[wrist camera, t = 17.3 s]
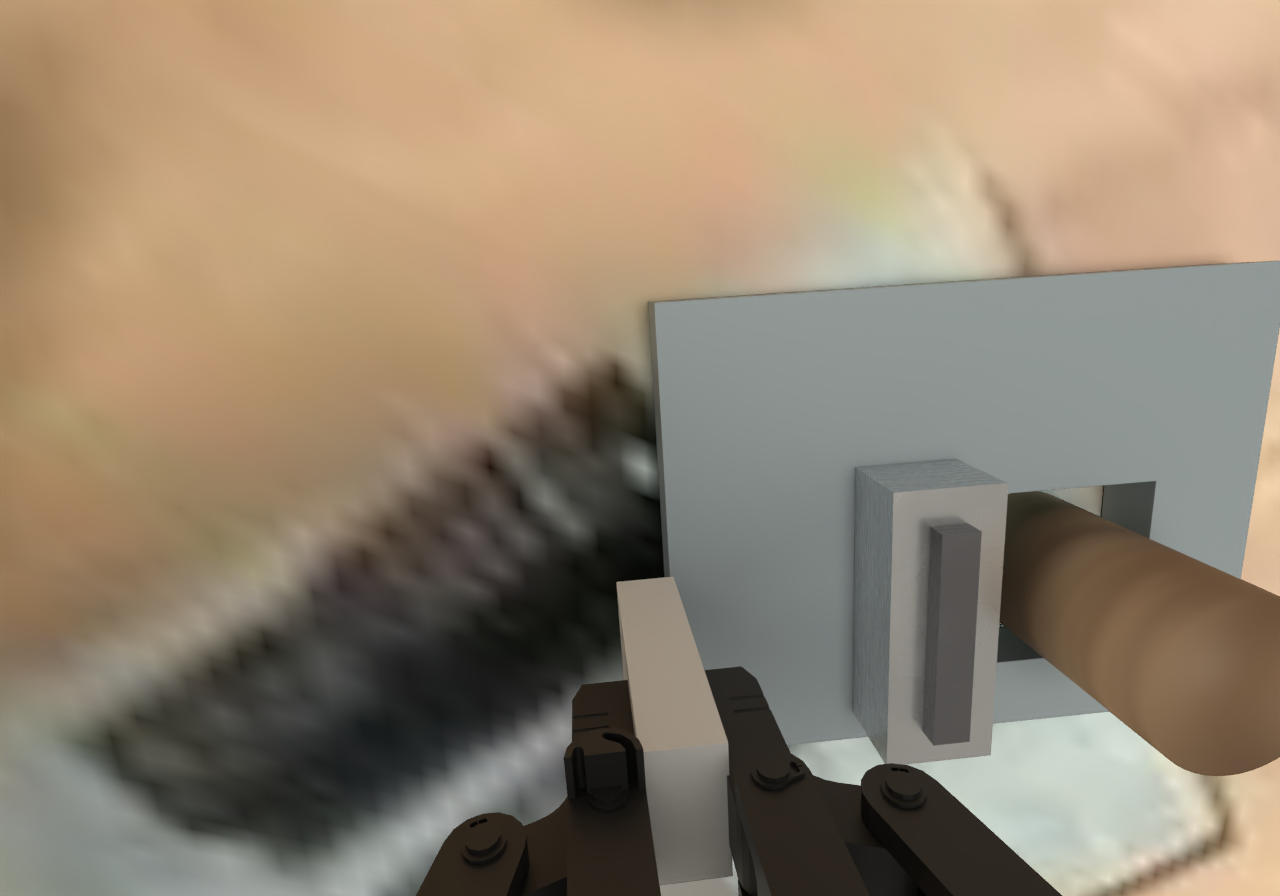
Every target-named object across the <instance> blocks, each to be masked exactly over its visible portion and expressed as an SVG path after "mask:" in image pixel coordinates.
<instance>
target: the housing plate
mask: <svg viewBox="0 0 1280 896" xmlns="http://www.w3.org/2000/svg"><path fill="white" fill-rule="evenodd" d="M648 308H649V325H650V342H651V358H652V375H653V392H654V409H655V426H656V442H657V459H658V476H659V493H660V509H661V526H662V543H663V560H664V577H674V580H675V583H676V586H677V589H678V592H679V595H680V598H681V601H682V604H683V607H684V610H685V613H686V616H687V619H688V622H689V625H690V628H691V631H692V634H693V637H694V640H695V643H696V646H697V649H698V652H699V655H700V658H701V661H702V665H703V668H704V670H711V669H720V668H730V667H739V666H742V667H743V668H744V669H745V670H747V671H748V672H749V673H750V674H752V675H753V676H754V677H755V678H756V679H757V681H758V683H759V685H760V687H761V689H762V692H763V694H764V697H765V698H766V700H767V703H768V705H769V709H770V710H771V711H772V714H773V716H774V718H775V720H776V722H777V725H778V727H779V729H780V731H781V733H782V736H783V738H784V740H785V742H786V744H787V745H792V744H802V743H812V742H821V741H831V740H841V739H850V738H860V737H868V735H867V734H866V732H865V731H864V729H863V727H862V726H861V724H860V722H859V721H858V719H857V718H856V716H855V714H854V713H853V651H854V561H855V471H856V467H866V466H879V465H891V464H903V463H915V462H928V461H940V460H952V459H957V460H960V461H962V462H964V463H966V464H968V465H970V466H973V467H975V468H977V469H979V470H981V471H983V472H986V473H988V474H990V475H992V476H994V477H997V478H999V479H1001V480H1003V481H1005V482H1007V483H1009V485H1008V493H1019V492H1031V491H1042V490H1054V489H1066V488H1078V487H1090V486H1101V485H1105V486H1104V496H1103V505H1102V515H1101V517H1102V518H1104V519H1106V520H1108V521H1111V522H1113V523H1115V524H1117V525H1120V526H1122V527H1124V528H1126V529H1129V530H1131V531H1133V532H1135V533H1138V534H1140V535H1142V536H1144V537H1147V538H1149V539H1151V540H1153V541H1156V542H1158V543H1160V544H1162V545H1165V546H1167V547H1169V548H1172V549H1174V550H1176V551H1178V552H1181V553H1183V554H1185V555H1187V556H1190V557H1192V558H1194V559H1196V560H1199V561H1201V562H1203V563H1205V564H1208V565H1210V566H1212V567H1214V568H1217V569H1219V570H1221V571H1223V572H1226V573H1228V574H1230V575H1232V576H1235V577H1237V578H1239V579H1241V573H1242V566H1243V560H1244V554H1245V547H1246V541H1247V534H1248V528H1249V521H1250V515H1251V508H1252V502H1253V496H1254V489H1255V483H1256V476H1257V470H1258V463H1259V457H1260V450H1261V444H1262V438H1263V431H1264V425H1265V418H1266V412H1267V405H1268V399H1269V392H1270V386H1271V380H1272V373H1273V367H1274V360H1275V354H1276V347H1277V341H1278V334H1279V328H1280V261H1264V262H1242V263H1221V264H1206V265H1191V266H1176V267H1161V268H1146V269H1131V270H1116V271H1101V272H1086V273H1071V274H1056V275H1041V276H1026V277H1011V278H996V279H981V280H966V281H951V282H936V283H921V284H906V285H891V286H876V287H861V288H846V289H831V290H816V291H801V292H787V293H772V294H757V295H742V296H727V297H712V298H697V299H682V300H667V301H652V302H648ZM1100 712H1110V711H1108V710H1107V709H1106V708H1105V707H1104V706H1102V705H1101V704H1100V703H1099V702H1097V701H1096V700H1095V699H1094V698H1092V697H1091V696H1090V695H1089V694H1088V693H1086V692H1085V691H1084V690H1083V689H1081V688H1080V687H1079V686H1078V685H1076V684H1075V683H1074V682H1073V681H1072V680H1070V679H1069V678H1068V677H1067V676H1065V675H1064V674H1063V673H1062V672H1060V671H1059V670H1058V669H1057V668H1055V667H1054V666H1053V665H1052V664H1051V663H1049V662H1048V661H1047V660H1046V659H1044V658H1043V657H1042V656H1041V655H1039V654H1038V653H1037V652H1036V651H1035V650H1033V649H1032V648H1031V647H1030V646H1028V645H1027V644H1026V643H1025V642H1023V641H1022V640H1021V639H1020V638H1019V637H1017V636H1016V635H1015V634H1014V633H1012V632H1011V631H1010V630H1009V629H1007V628H1006V627H1004V628H999V636H998V651H997V666H996V681H995V696H994V711H993V724H994V723H1004V722H1014V721H1023V720H1033V719H1042V718H1052V717H1062V716H1071V715H1081V714H1091V713H1100Z"/></svg>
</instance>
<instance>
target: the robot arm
mask: <svg viewBox="0 0 1280 896" xmlns="http://www.w3.org/2000/svg"><path fill="white" fill-rule="evenodd" d="M616 583H617V597H618V610H619V623H620V637H621V650H622V664H623V676H624V680H623V681H613V682H604V683H595V684H585V685H582V686H581V688H580V689H579V691H578V692H577V694H576V695H575V697H574V699H573V701H572V719H573V720H572V743H571V744H570V745H569V746H568V747H567V750H566V753H565V756H564V764H565V774H566V783H567V793H568V796H567V798H566V800H565V801H564V802H563V803H562V804H561V806H560V807H559V808H558V809H556V810H555V811H554V812H552V813H551V814H550V815H548V816H546V817H544V818H542V819H540V820H538V821H536V822H533V823H531V824H528V825H525V826H523V825H522V823H521V822H519V821H518V820H517V819H516V818H514V817H513V816H511V815H507V814H503V813H499V812H498V813H487V814H481V815H479V816H476V817H473V818H471V819H468V820H466V821H465V822H463V823H462V824H461V825H459V826H458V827H456V828H455V829H454V830H453V831H452V832H451V834H450V835H449V836H448V838H447V839H446V840H445V841H444V843H443V845H442V847H441V849H440V851H439V853H438V855H437V856H436V858H435V860H434V862H433V864H432V866H431V868H430V870H429V872H428V874H427V876H426V877H425V879H424V881H423V883H422V885H421V887H420V889H419V891H418V893H417V895H416V896H661V893H660V886H659V885H667V884H675V883H682V882H689V881H698V880H705V879H713V878H721V877H729V876H733V872H732V857H733V861H734V864H735V868H736V872H737V875H738V891H739V896H1062V895H1061V894H1060V893H1059V892H1058V891H1056V890H1055V889H1054V888H1053V887H1052V886H1051V885H1050V884H1049V883H1048V882H1047V881H1046V880H1044V879H1043V878H1042V877H1041V876H1040V875H1039V874H1038V873H1037V872H1036V871H1035V870H1034V869H1032V868H1031V867H1030V866H1029V865H1028V864H1027V863H1026V862H1025V861H1024V860H1023V859H1022V858H1020V857H1019V856H1018V855H1017V854H1016V853H1015V852H1014V851H1013V850H1012V849H1011V848H1010V847H1008V846H1007V845H1006V844H1005V843H1004V842H1003V841H1002V840H1001V839H1000V838H999V837H998V836H996V835H995V834H994V833H993V832H992V831H991V830H990V829H989V828H988V827H987V826H986V825H984V824H983V823H982V822H981V821H980V820H979V819H978V818H977V817H976V816H975V815H974V814H972V813H971V812H970V811H969V810H968V809H967V808H966V807H965V806H964V805H963V804H961V803H960V802H959V801H958V800H957V799H956V798H955V797H954V796H953V795H952V794H951V793H949V792H948V791H947V790H946V789H945V788H944V787H943V786H942V785H941V784H940V783H939V782H937V781H936V780H935V779H934V778H932V777H931V776H929V775H928V774H926V773H925V772H923V771H921V770H919V769H916V768H913V767H911V766H908V765H902V764H894V763H889V764H883V765H877V766H875V767H873V768H871V769H870V770H868V771H866V773H865V775H864V776H863V778H862V780H861V786H859V785H852V784H844V783H837V782H832V781H827V780H824V779H821V778H819V777H816V776H814V775H812V773H811V771H810V770H809V768H808V767H807V766H806V764H805V763H804V762H803V761H802V760H800V759H799V758H797V757H796V756H794V755H792V754H791V753H790V751H789V749H788V747H787V744H786V742H785V740H784V738H783V736H782V733H781V731H780V729H779V727H778V725H777V722H776V720H775V718H774V716H773V714H772V711H771V710H770V709H769V705H768V703H767V700H766V698H765V697H764V694H763V692H762V689H761V687H760V685H759V683H758V681H757V679H756V678H755V677H754V676H753V675H752V674H750V673H749V672H748V671H747V670H745V669H744V668H743V667H742V666H739V667H730V668H720V669H711V670H704V668H703V665H702V661H701V658H700V655H699V652H698V649H697V646H696V643H695V640H694V637H693V634H692V631H691V628H690V625H689V622H688V619H687V616H686V613H685V610H684V607H683V604H682V601H681V598H680V595H679V592H678V589H677V586H676V583H675V580H674V577H664V578H654V579H643V580H633V581H622V582H616Z"/></svg>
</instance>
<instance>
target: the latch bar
mask: <svg viewBox="0 0 1280 896" xmlns="http://www.w3.org/2000/svg"><path fill="white" fill-rule="evenodd" d="M1008 485H1009V483H1007V482H1005V481H1003V480H1001V479H999V478H997V477H994V476H992V475H990V474H988V473H986V472H983V471H981V470H979V469H977V468H975V467H973V466H970V465H968V464H966V463H964V462H962V461H960V460H957V459H952V460H940V461H928V462H915V463H903V464H891V465H879V466H866V467H856V471H855V561H854V651H853V713H854V714H855V716H856V718H857V719H858V721H859V722H860V724H861V726H862V727H863V729H864V731H865V732H866V734H867V735H868V737H869V739H870V740H871V742H872V743H873V745H874V747H875V748H876V750H877V751H878V753H879V755H880V756H881V758H882V759H883V761H884V763H885V764H889V763H894V764H902V765H903V764H912V763H922V762H931V761H941V760H950V759H959V758H969V757H978V756H987V755H991V741H992V726H993V711H994V696H995V681H996V666H997V651H998V636H999V620H1000V605H1001V590H1002V575H1003V560H1004V545H1005V530H1006V515H1007V500H1008Z"/></svg>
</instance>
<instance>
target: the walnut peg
mask: <svg viewBox="0 0 1280 896" xmlns="http://www.w3.org/2000/svg"><path fill="white" fill-rule="evenodd" d="M999 622H1000V623H1001V624H1002V625H1004V626H1005V627H1006V628H1007V629H1009V630H1010V631H1011V632H1012V633H1014V634H1015V635H1016V636H1017V637H1019V638H1020V639H1021V640H1022V641H1023V642H1025V643H1026V644H1027V645H1028V646H1030V647H1031V648H1032V649H1033V650H1035V651H1036V652H1037V653H1038V654H1039V655H1041V656H1042V657H1043V658H1044V659H1046V660H1047V661H1048V662H1049V663H1051V664H1052V665H1053V666H1054V667H1055V668H1057V669H1058V670H1059V671H1060V672H1062V673H1063V674H1064V675H1065V676H1067V677H1068V678H1069V679H1070V680H1072V681H1073V682H1074V683H1075V684H1076V685H1078V686H1079V687H1080V688H1081V689H1083V690H1084V691H1085V692H1086V693H1088V694H1089V695H1090V696H1091V697H1092V698H1094V699H1095V700H1096V701H1097V702H1099V703H1100V704H1101V705H1102V706H1104V707H1105V708H1106V709H1107V710H1108V711H1110V712H1111V713H1112V714H1113V715H1115V716H1116V717H1117V718H1118V719H1120V720H1121V721H1122V722H1123V723H1124V724H1126V725H1127V726H1128V727H1129V728H1131V729H1132V730H1133V731H1134V732H1136V733H1137V734H1138V735H1139V736H1141V737H1142V738H1143V739H1144V740H1145V741H1147V742H1148V743H1149V744H1150V745H1152V746H1153V747H1154V748H1155V749H1157V750H1158V751H1159V752H1160V753H1161V754H1163V755H1164V756H1165V757H1166V758H1168V759H1169V760H1170V761H1172V762H1173V763H1174V764H1176V765H1177V766H1179V767H1181V768H1183V769H1185V770H1188V771H1190V772H1193V773H1197V774H1202V775H1209V776H1227V775H1234V774H1240V773H1244V772H1247V771H1251V770H1254V769H1257V768H1259V767H1261V766H1264V765H1266V764H1268V763H1270V762H1272V761H1274V760H1276V759H1277V758H1279V757H1280V596H1277V595H1275V594H1273V593H1271V592H1268V591H1266V590H1264V589H1262V588H1259V587H1257V586H1255V585H1253V584H1250V583H1248V582H1246V581H1244V580H1241V579H1239V578H1237V577H1235V576H1232V575H1230V574H1228V573H1226V572H1223V571H1221V570H1219V569H1217V568H1214V567H1212V566H1210V565H1208V564H1205V563H1203V562H1201V561H1199V560H1196V559H1194V558H1192V557H1190V556H1187V555H1185V554H1183V553H1181V552H1178V551H1176V550H1174V549H1172V548H1169V547H1167V546H1165V545H1162V544H1160V543H1158V542H1156V541H1153V540H1151V539H1149V538H1147V537H1144V536H1142V535H1140V534H1138V533H1135V532H1133V531H1131V530H1129V529H1126V528H1124V527H1122V526H1120V525H1117V524H1115V523H1113V522H1111V521H1108V520H1106V519H1104V518H1102V517H1099V516H1097V515H1095V514H1093V513H1090V512H1088V511H1086V510H1084V509H1081V508H1079V507H1077V506H1075V505H1072V504H1070V503H1068V502H1066V501H1063V500H1061V499H1059V498H1057V497H1054V496H1052V495H1049V494H1047V493H1043V492H1038V491H1031V492H1019V493H1011V494H1008V500H1007V515H1006V530H1005V545H1004V560H1003V575H1002V590H1001V605H1000V620H999Z"/></svg>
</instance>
